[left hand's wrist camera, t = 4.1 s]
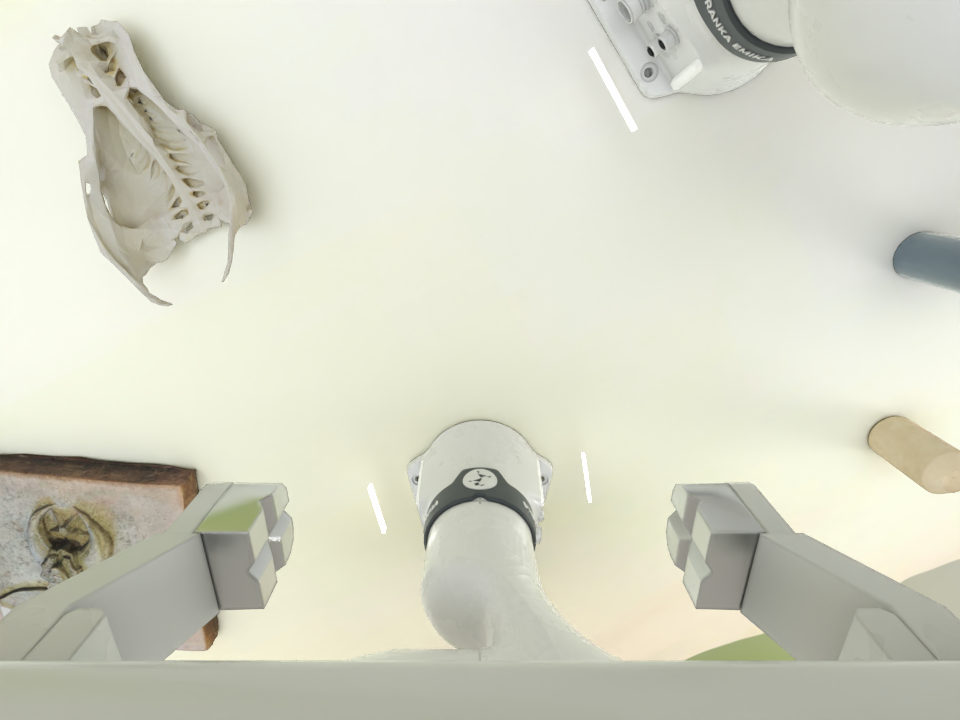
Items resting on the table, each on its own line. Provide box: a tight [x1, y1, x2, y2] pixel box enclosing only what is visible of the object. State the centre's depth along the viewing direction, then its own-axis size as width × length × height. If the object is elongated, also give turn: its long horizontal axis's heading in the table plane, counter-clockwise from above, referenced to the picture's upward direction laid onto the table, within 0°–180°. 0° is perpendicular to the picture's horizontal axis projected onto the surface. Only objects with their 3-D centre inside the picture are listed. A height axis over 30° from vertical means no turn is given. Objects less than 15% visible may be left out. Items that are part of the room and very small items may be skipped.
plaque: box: [0, 454, 218, 651], centre depth 68 cm, size 30×7×30 cm
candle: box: [868, 416, 960, 494], centre depth 60 cm, size 6×6×10 cm
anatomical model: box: [49, 20, 253, 306], centre depth 49 cm, size 15×9×25 cm
